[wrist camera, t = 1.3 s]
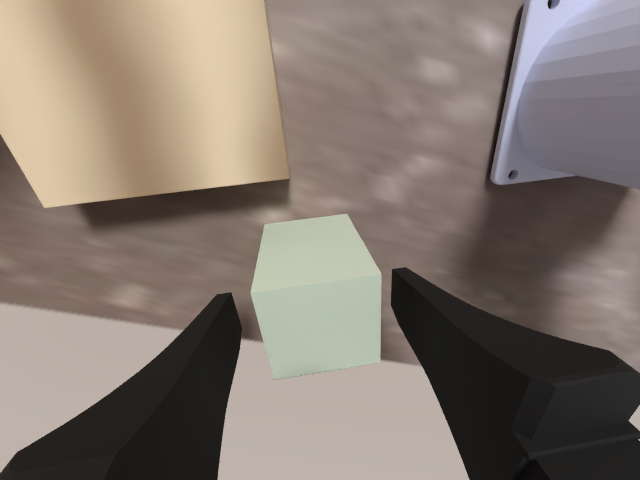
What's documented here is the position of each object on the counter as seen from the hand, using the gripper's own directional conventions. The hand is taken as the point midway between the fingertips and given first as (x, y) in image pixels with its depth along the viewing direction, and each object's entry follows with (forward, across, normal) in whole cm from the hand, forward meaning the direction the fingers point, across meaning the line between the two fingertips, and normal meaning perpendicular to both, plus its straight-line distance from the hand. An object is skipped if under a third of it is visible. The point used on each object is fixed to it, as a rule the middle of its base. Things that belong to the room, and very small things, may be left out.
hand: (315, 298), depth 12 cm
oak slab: (+4, +5, -9) cm, 11 cm away
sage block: (+4, 0, 0) cm, 4 cm away
